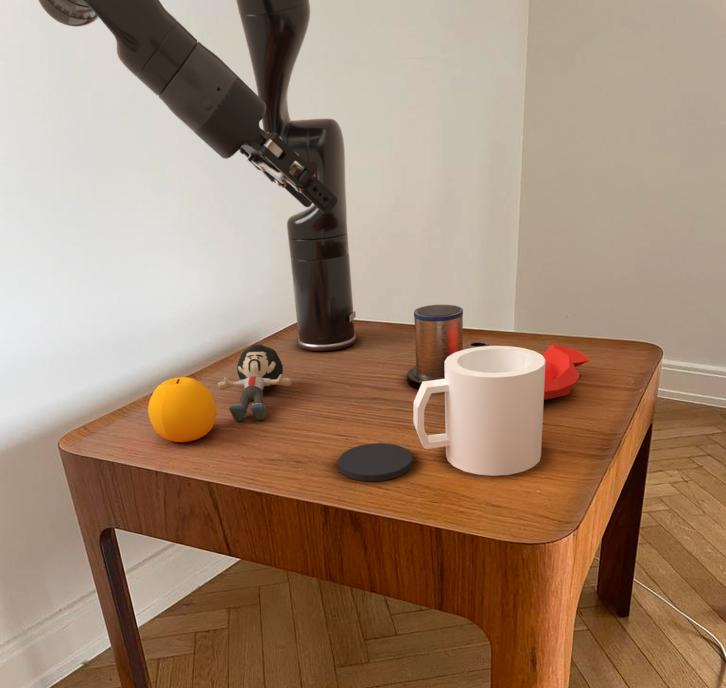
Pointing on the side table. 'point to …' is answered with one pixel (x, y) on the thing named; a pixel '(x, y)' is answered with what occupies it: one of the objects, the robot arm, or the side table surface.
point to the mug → (488, 409)
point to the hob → (415, 379)
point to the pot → (437, 338)
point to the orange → (182, 409)
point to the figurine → (255, 380)
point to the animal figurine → (561, 370)
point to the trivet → (375, 462)
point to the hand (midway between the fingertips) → (322, 204)
